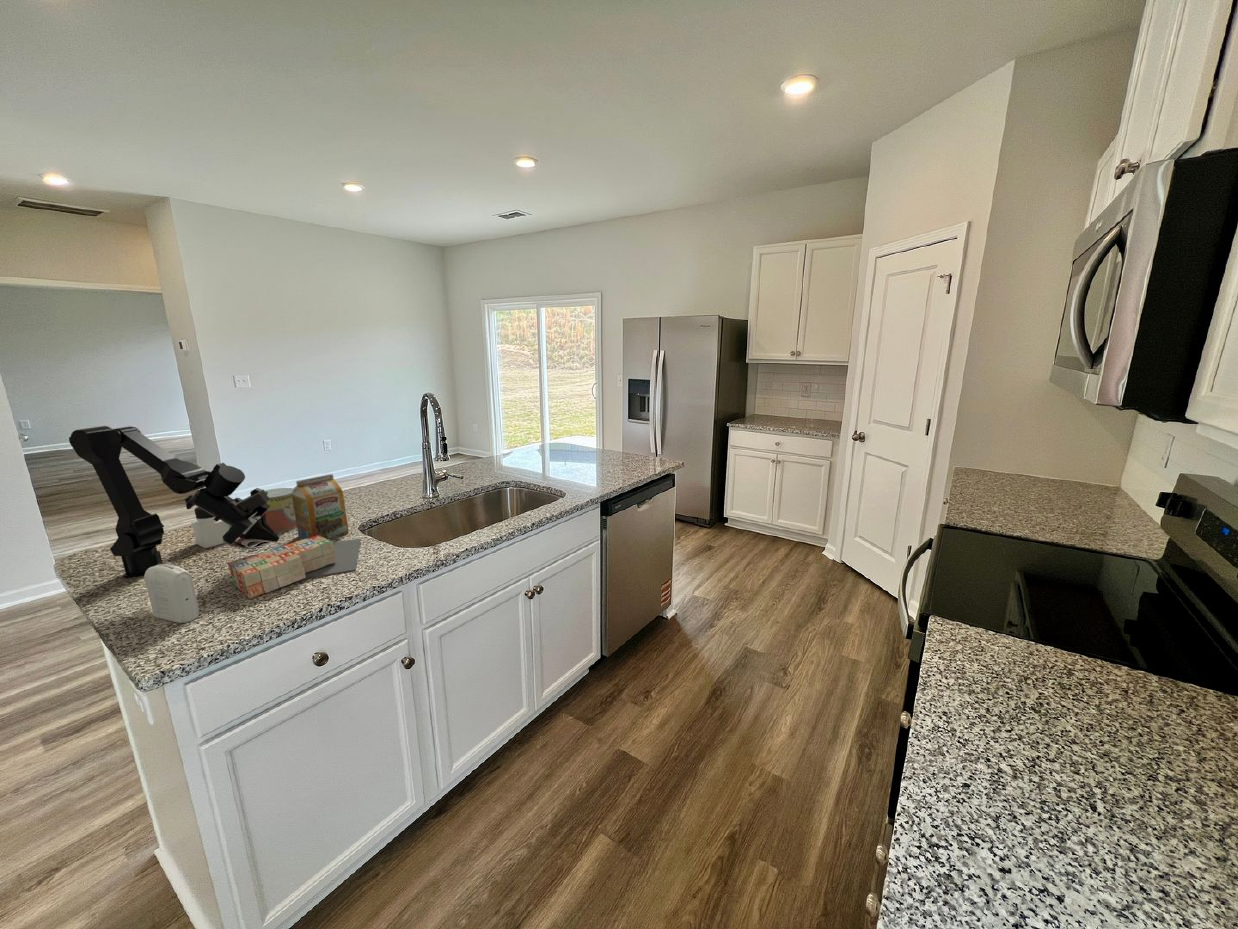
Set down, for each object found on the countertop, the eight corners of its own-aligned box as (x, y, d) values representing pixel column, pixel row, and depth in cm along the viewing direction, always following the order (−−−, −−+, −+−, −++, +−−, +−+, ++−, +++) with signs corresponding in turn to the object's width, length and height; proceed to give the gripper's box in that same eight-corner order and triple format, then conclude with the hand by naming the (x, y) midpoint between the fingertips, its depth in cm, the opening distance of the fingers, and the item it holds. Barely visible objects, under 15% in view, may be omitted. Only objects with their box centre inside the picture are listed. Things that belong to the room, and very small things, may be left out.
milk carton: (333, 526, 164) (324, 471, 160) (348, 533, 158) (340, 476, 154) (298, 536, 156) (288, 478, 152) (313, 543, 150) (304, 483, 146)
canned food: (285, 533, 159) (279, 497, 156) (251, 533, 159) (244, 498, 156) (307, 521, 169) (302, 487, 167) (275, 521, 170) (269, 488, 167)
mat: (285, 582, 125) (285, 581, 125) (300, 548, 146) (300, 547, 146) (356, 570, 132) (355, 569, 132) (360, 539, 153) (360, 538, 153)
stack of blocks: (318, 534, 139) (338, 543, 132) (322, 554, 140) (342, 564, 133) (226, 562, 122) (243, 575, 115) (232, 585, 124) (249, 599, 117)
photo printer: (204, 615, 110) (192, 564, 107) (182, 625, 106) (169, 573, 103) (172, 608, 113) (160, 558, 110) (150, 618, 109) (137, 566, 106)
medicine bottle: (233, 541, 153) (225, 504, 150) (205, 548, 147) (196, 510, 144) (223, 536, 156) (216, 500, 153) (195, 543, 150) (187, 506, 148)
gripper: (229, 492, 119) (289, 529, 125) (255, 474, 136) (307, 507, 142) (196, 527, 118) (258, 562, 124) (227, 504, 135) (280, 536, 141)
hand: (278, 540), depth 133 cm, fingers closed
